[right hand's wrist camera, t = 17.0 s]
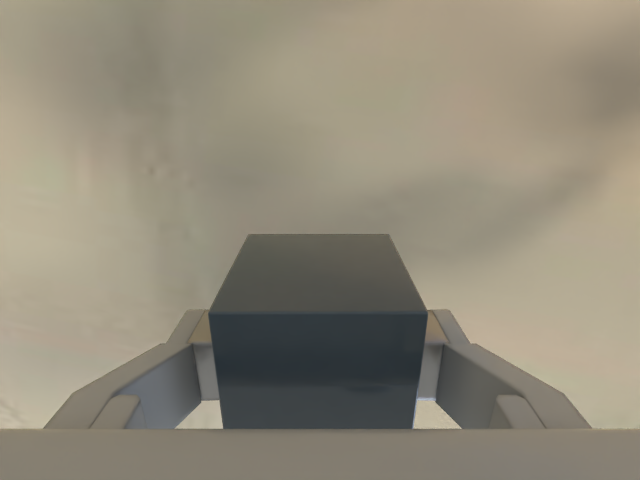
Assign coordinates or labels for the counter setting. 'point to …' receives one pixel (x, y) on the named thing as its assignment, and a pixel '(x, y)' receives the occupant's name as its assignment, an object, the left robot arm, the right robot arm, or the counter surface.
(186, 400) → the right robot arm
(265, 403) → the block
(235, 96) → the counter surface
